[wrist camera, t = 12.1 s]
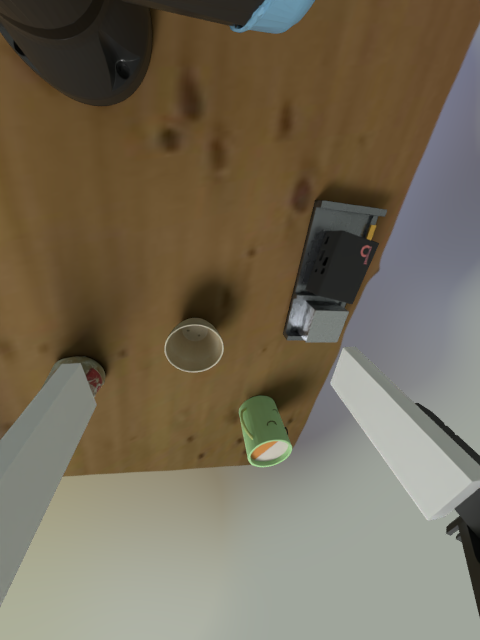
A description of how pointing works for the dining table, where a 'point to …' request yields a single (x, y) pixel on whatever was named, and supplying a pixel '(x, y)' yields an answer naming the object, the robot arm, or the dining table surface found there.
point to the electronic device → (341, 266)
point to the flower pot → (194, 345)
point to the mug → (264, 432)
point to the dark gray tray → (305, 307)
